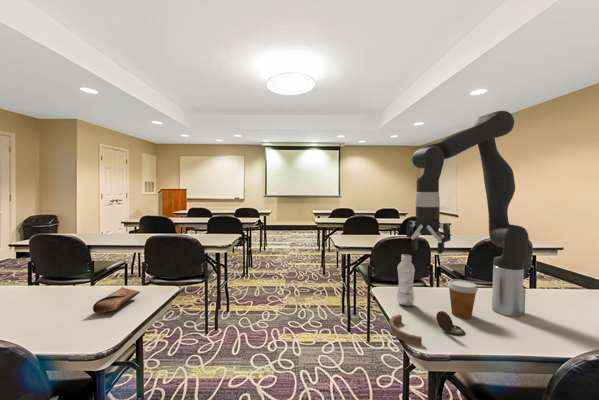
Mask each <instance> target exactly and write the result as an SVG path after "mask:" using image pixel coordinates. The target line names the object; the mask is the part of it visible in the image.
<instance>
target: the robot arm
mask: <svg viewBox="0 0 599 400" xmlns="http://www.w3.org/2000/svg"><path fill="white" fill-rule="evenodd" d="M514 126H515V119H514V116H513V115H512V113H511V112H509V111H507V110H498V111H497V110H496V111H494V112H490V113H487V114H485V115H481V116H479V117H478V118H477V119H476V120H475V122H474V126H472V127H469V128H467V129H464V130H461V131H459V132H455V133H453V134H451V135H449V136H447V137H444V138H442V139H441V140H439V141H437V142H435V143H432V144H429V145H426V146H423V147H420V148H419V149H417V150H416V151H415V152H414V153H413V154H412V157H411V161H412V164H413V166H415V167H416V168H418V169H423V173H422V174H421V175H419V176H417V178H416V195H415V202H414V203H415V220H407V222H406V233H405V234H406V238H409V239H411V248H412V250H413V251H418V249H419V240H418V238H419V237H420V235H427V236H431V235H432V237H433V238H435V239H436V241H437V242H438V243H437V254H439V255H442V254H443V253H444V252H445V243H446V242H450V241H451V239H452V238H451V225H450V223H449V222H446V223H441V222H440V216H441V215H440V214H441V213H440V212H441V211H440V210H441V209H440V205H441V203H440V200H441V199H440V193H439V192H440V184H439V183H440V182H439V181H440V178H441V175H442V170H443V167H444V163H445V160H447V159H450V158H453V157H455V156H456V155H457V156H458V155H459V154H461V153H463V152H465V151H467V150H469V149H470V148H473V147H474V146H475V147H476V146H477V147H478V150H479V155H480V160H481V161H480V162H481V168H482V173H483V181H484V190H485V193H486V194H485V195H486V203H487V211H488V234H489V239H490V241H491V243H492V244H493V245H494V246H496V247H500V248H502V249H503V251H502V255H500V256H495V257H494V258H493V262H492V263H493V266H492V267H493V268H492V289H491V290H492V295H491V296H492V297H491V309H492V311H494V312H496V313H498V314H501V315H504V316H507V317H514V318H515V317H522V316H523V315H525V314H526V313H525V312H526V291H527V290H526V289H525V288H524V274H525V273H524V269H525V265H526V262H527V259H528V251H529V243H530V241H529V240H530V237H529V233H528V231H527V229H526V228H525V227H523V226H520V225H516V224H511V223H509V215H508V209H509V205H510V204H511V201H512V199H513V198H514V195H515V192H516V183H515V182H516V181H515V173H514V171H513V168H512V167H511V166H510V164H509V163H508V162H507V161H506V160H505V159H504V158H503V156H502V155H501V154H500V152H499V151H498V148H497V145H496V144H497V143H496V138H501V137H504V136H505V135H508V134H509V133H510V132H511V131H512V130H513V129H514ZM414 227H416V230H415V231H414ZM440 228H441V230H442V232H443V235H442V233H441V232H440Z"/></svg>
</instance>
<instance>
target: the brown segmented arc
mask: <svg viewBox="0 0 599 400" xmlns="http://www.w3.org/2000/svg"><path fill="white" fill-rule="evenodd" d="M402 319H403V316H402V314H396V315H394V316H392V317H391V318H390V319H389V322H388V323H389V327H388V328H389V331H390V334H391V335H393V336H394V337H395V338H396V339H398V340H400V341H403V342H405V343H408V344H411V345H416V346H422V343H423V342H422V339H423V338H422V337H423V336H420V335H415V334H410V333H407V332H406V331H403V330H400V329H399V328H398V327H397V325H399V324H401V323H403V322H402V321H403V320H402Z"/></svg>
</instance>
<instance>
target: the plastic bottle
mask: <svg viewBox="0 0 599 400" xmlns="http://www.w3.org/2000/svg"><path fill="white" fill-rule="evenodd" d="M400 257H401V258H400V260H401V261H400V262H399V263H398V265H397V268H396V269H397V277H398V286H397V287H398V288H397V292H396V300H397V303H398V304H399V305H401V306H403V307H404V306H406V307H411V306H413V305H414V304H415V294H414V293H415V292H414V279H415V272H416V269H415V266H414V264H413V263H412V260H413V259H412V255H410V254H408V253H407V254H406V253H405V254H404V253H403V254H401V256H400Z"/></svg>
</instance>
